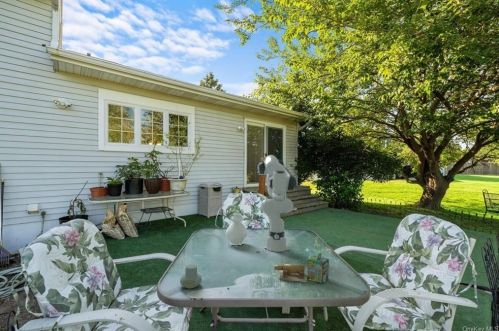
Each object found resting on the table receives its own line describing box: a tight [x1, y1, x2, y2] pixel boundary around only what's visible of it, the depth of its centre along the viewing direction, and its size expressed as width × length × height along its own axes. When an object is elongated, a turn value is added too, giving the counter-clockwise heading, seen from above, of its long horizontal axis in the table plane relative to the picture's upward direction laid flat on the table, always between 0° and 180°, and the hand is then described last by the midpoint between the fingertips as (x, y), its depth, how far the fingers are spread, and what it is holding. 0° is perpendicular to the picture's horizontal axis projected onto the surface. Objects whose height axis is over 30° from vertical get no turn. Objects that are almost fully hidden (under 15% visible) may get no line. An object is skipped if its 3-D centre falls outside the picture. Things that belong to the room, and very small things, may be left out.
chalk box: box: [307, 252, 330, 284], centre depth 141 cm, size 9×9×15 cm
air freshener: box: [179, 264, 203, 290], centre depth 129 cm, size 11×8×10 cm
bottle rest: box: [279, 270, 308, 283], centre depth 143 cm, size 11×15×5 cm
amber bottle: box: [273, 263, 306, 274], centre depth 143 cm, size 5×17×5 cm
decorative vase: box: [225, 212, 249, 246], centre depth 205 cm, size 18×18×25 cm
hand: (278, 217), depth 158 cm, fingers open, 8 cm apart
